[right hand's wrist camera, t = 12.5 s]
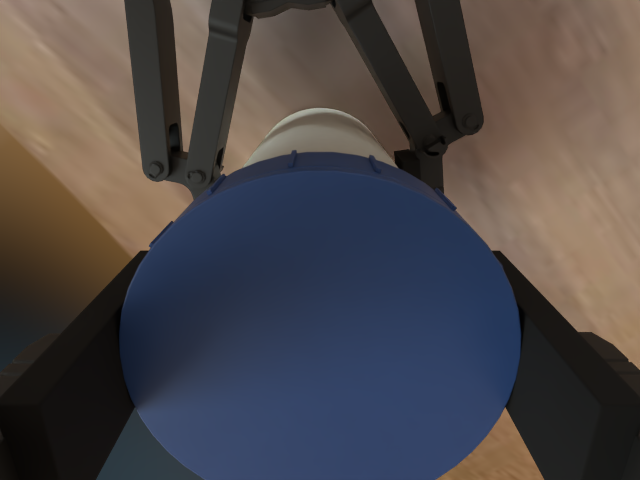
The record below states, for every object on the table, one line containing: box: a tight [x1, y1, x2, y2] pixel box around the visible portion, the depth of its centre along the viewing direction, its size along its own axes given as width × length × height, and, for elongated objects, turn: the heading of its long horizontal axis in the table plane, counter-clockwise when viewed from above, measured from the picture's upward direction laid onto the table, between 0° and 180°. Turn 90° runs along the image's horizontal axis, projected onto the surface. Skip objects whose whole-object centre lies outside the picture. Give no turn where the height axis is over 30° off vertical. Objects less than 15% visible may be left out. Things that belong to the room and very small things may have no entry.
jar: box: [243, 108, 398, 168], centre depth 20 cm, size 8×8×19 cm
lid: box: [119, 150, 521, 480], centre depth 11 cm, size 9×9×2 cm
